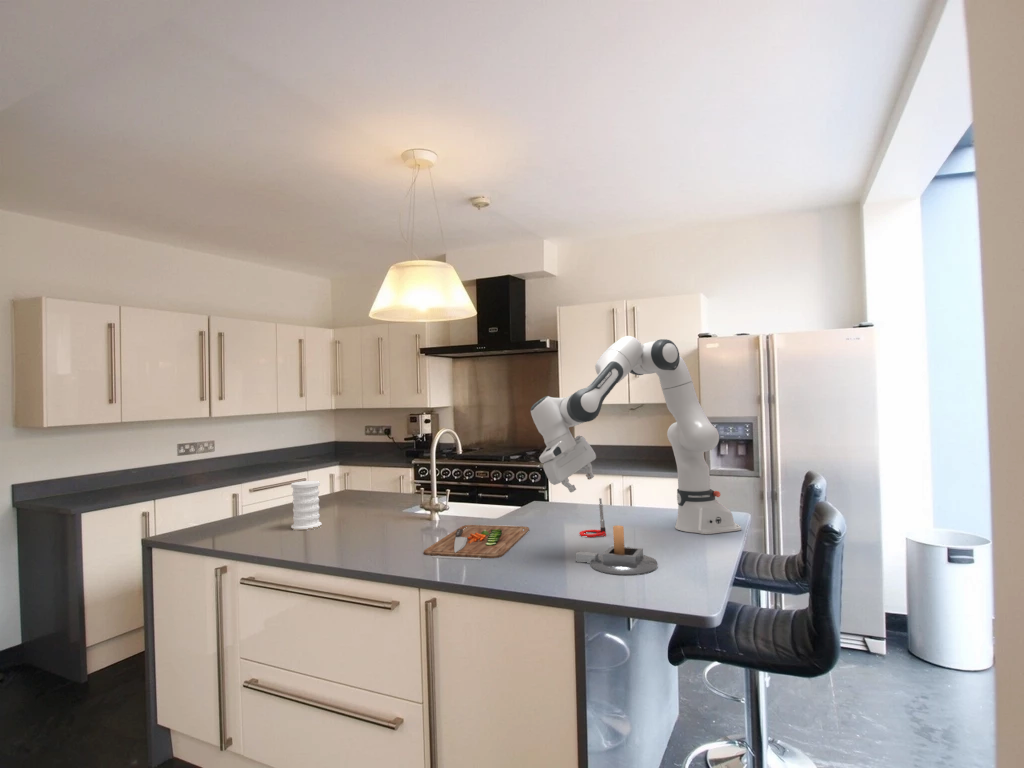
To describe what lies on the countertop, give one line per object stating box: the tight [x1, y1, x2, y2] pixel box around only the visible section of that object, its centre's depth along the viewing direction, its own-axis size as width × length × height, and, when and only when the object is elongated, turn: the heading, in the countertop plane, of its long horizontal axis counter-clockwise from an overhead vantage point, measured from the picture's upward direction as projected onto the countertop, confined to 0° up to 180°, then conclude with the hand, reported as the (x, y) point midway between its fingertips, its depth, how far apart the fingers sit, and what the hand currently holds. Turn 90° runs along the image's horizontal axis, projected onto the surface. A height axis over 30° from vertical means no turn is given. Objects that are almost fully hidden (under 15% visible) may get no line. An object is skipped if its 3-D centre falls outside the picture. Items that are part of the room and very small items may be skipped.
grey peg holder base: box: [575, 545, 658, 576], centre depth 169 cm, size 19×24×4 cm
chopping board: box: [423, 524, 530, 561], centre depth 202 cm, size 45×27×3 cm, turn 164°
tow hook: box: [578, 497, 607, 538], centre depth 206 cm, size 8×13×9 cm
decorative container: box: [290, 480, 323, 529], centre depth 233 cm, size 12×12×18 cm
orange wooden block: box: [612, 525, 625, 555], centre depth 168 cm, size 3×3×10 cm
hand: (582, 484), depth 183 cm, fingers open, 8 cm apart
